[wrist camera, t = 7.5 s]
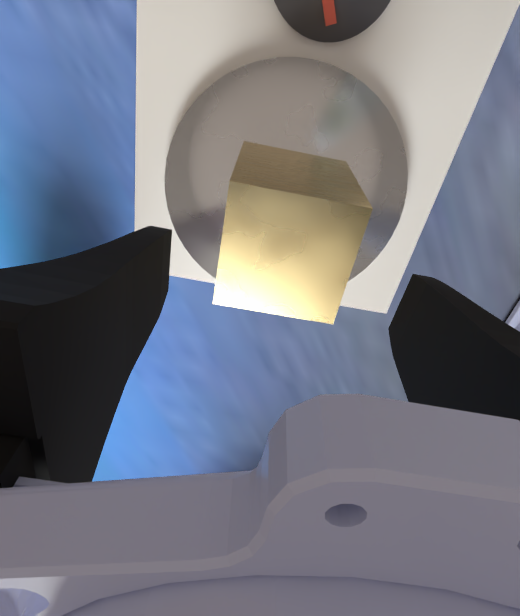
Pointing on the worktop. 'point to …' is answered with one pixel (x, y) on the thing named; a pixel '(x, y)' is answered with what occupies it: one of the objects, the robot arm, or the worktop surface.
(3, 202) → the worktop surface
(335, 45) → the scale
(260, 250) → the block
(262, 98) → the scale pan
